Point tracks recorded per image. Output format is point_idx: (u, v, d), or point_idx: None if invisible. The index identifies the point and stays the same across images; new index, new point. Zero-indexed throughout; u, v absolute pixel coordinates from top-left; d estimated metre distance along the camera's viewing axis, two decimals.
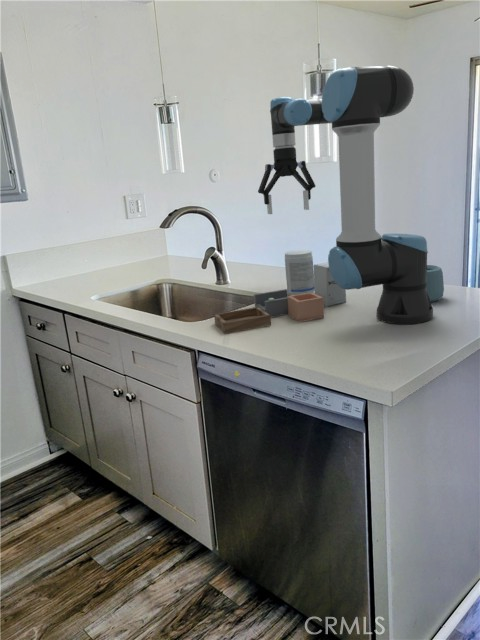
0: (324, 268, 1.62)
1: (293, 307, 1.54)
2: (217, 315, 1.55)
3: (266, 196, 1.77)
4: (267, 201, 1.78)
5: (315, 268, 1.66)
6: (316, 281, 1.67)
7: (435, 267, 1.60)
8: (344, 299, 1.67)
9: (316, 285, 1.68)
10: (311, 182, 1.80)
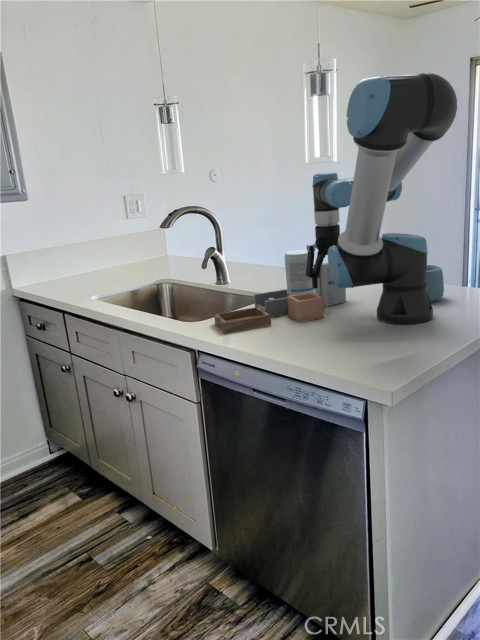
0: (324, 268, 1.62)
1: (293, 307, 1.54)
2: (217, 315, 1.55)
3: (315, 280, 1.64)
4: (316, 285, 1.65)
5: None
6: None
7: (435, 267, 1.60)
8: (344, 299, 1.67)
9: None
10: None
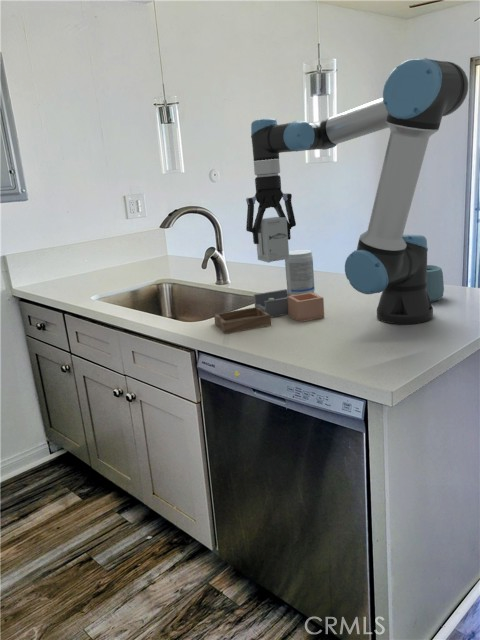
0: (264, 222, 1.54)
1: (293, 307, 1.54)
2: (217, 315, 1.55)
3: (255, 235, 1.56)
4: (256, 240, 1.57)
5: None
6: None
7: (435, 267, 1.60)
8: (287, 255, 1.58)
9: None
10: (292, 219, 1.58)
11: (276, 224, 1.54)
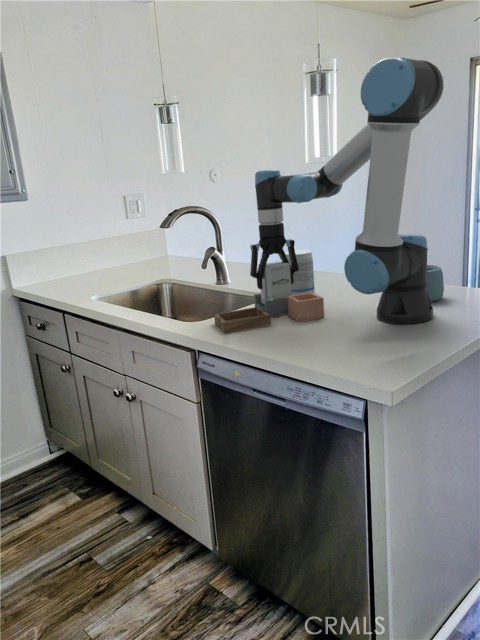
0: (267, 268, 1.58)
1: (293, 307, 1.54)
2: (217, 315, 1.55)
3: (259, 280, 1.60)
4: (260, 285, 1.61)
5: None
6: None
7: (435, 267, 1.60)
8: None
9: None
10: (295, 265, 1.62)
11: (279, 270, 1.58)
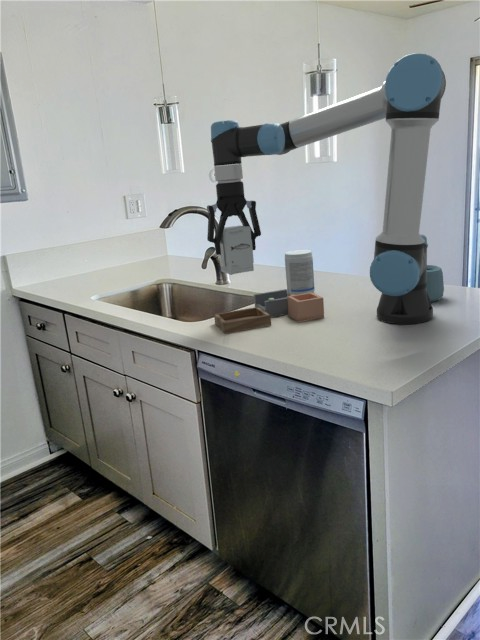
0: (225, 231, 1.43)
1: (293, 307, 1.54)
2: (217, 315, 1.55)
3: (217, 245, 1.45)
4: (218, 251, 1.46)
5: None
6: None
7: (435, 267, 1.60)
8: (251, 267, 1.48)
9: None
10: (257, 229, 1.47)
11: (239, 234, 1.43)
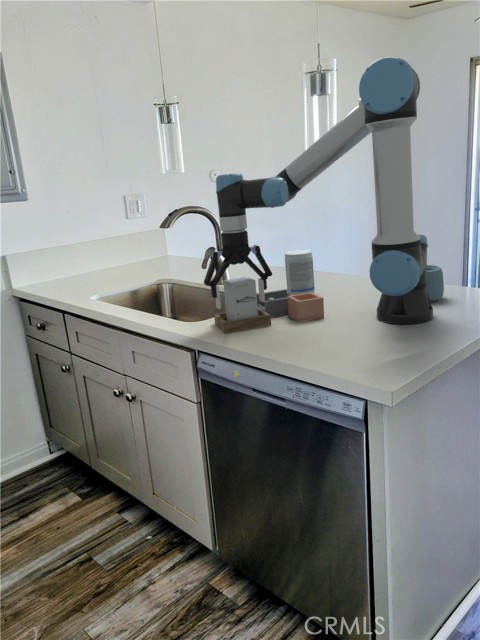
0: (231, 285, 1.47)
1: (293, 307, 1.54)
2: (217, 315, 1.55)
3: (213, 288, 1.48)
4: (215, 294, 1.49)
5: (224, 284, 1.52)
6: (226, 298, 1.52)
7: (435, 267, 1.60)
8: None
9: (226, 303, 1.53)
10: (267, 270, 1.51)
11: (244, 288, 1.48)
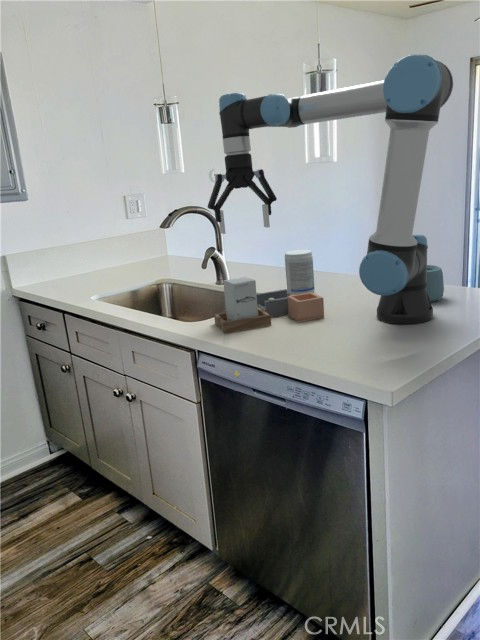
0: (231, 285, 1.47)
1: (293, 307, 1.54)
2: (217, 315, 1.55)
3: (217, 212, 1.47)
4: (219, 218, 1.48)
5: (224, 284, 1.52)
6: (226, 298, 1.52)
7: (435, 267, 1.60)
8: None
9: (226, 303, 1.53)
10: (271, 194, 1.51)
11: (244, 288, 1.48)
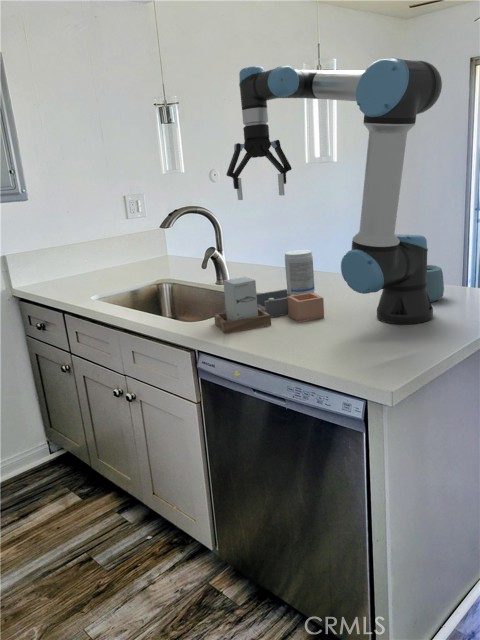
0: (231, 285, 1.47)
1: (293, 307, 1.54)
2: (217, 315, 1.55)
3: (235, 179, 1.57)
4: (237, 185, 1.58)
5: (224, 284, 1.52)
6: (226, 298, 1.52)
7: (435, 267, 1.60)
8: None
9: (226, 303, 1.53)
10: (286, 164, 1.60)
11: (244, 288, 1.48)
